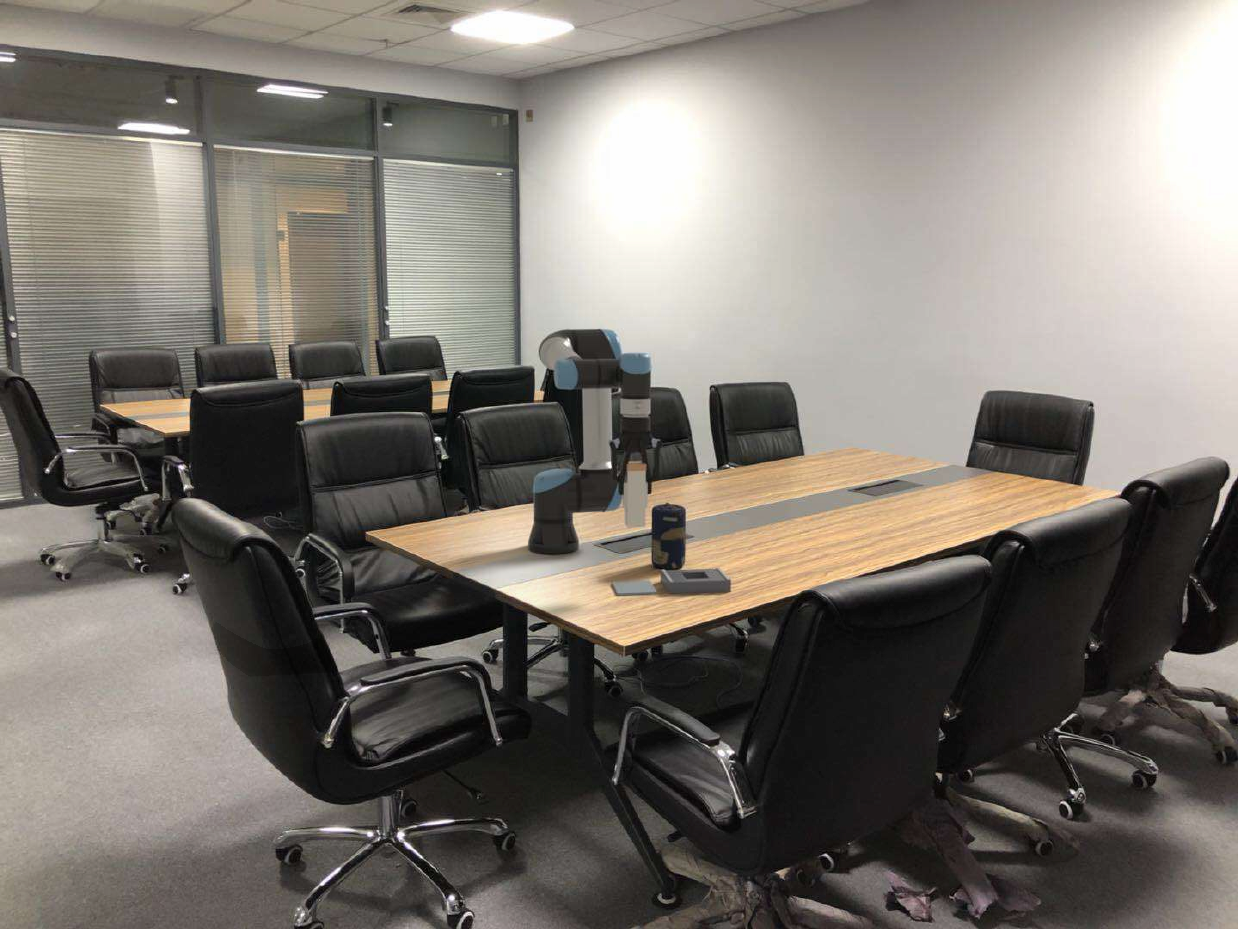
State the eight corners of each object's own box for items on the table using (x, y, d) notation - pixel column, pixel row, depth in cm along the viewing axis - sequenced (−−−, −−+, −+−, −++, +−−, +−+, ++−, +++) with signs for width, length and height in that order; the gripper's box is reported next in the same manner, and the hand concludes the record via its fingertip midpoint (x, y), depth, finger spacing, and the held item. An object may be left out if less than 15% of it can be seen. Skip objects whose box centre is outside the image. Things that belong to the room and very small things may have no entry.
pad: (617, 595, 243) (617, 593, 243) (612, 584, 253) (612, 582, 253) (657, 594, 245) (657, 591, 245) (649, 582, 255) (649, 580, 254)
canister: (683, 561, 275) (684, 499, 272) (687, 570, 266) (688, 506, 263) (650, 561, 275) (650, 499, 272) (652, 571, 266) (652, 506, 262)
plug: (627, 527, 243) (627, 464, 241) (624, 523, 248) (624, 461, 245) (645, 527, 244) (646, 464, 241) (642, 522, 249) (642, 461, 246)
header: (669, 594, 245) (669, 581, 244) (660, 581, 255) (660, 569, 255) (730, 591, 247) (730, 579, 247) (719, 579, 258) (720, 567, 257)
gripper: (602, 417, 236) (602, 511, 240) (673, 416, 239) (671, 509, 243) (598, 414, 244) (598, 505, 248) (667, 413, 246) (666, 503, 250)
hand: (634, 506), depth 245 cm, fingers closed on plug, 4 cm apart
